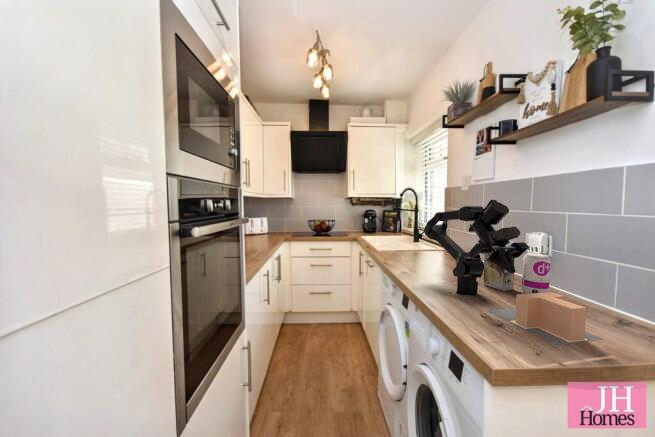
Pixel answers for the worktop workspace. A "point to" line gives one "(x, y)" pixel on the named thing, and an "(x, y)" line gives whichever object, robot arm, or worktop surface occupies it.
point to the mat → (548, 336)
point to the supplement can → (536, 273)
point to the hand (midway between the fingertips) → (513, 272)
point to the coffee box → (497, 276)
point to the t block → (551, 314)
